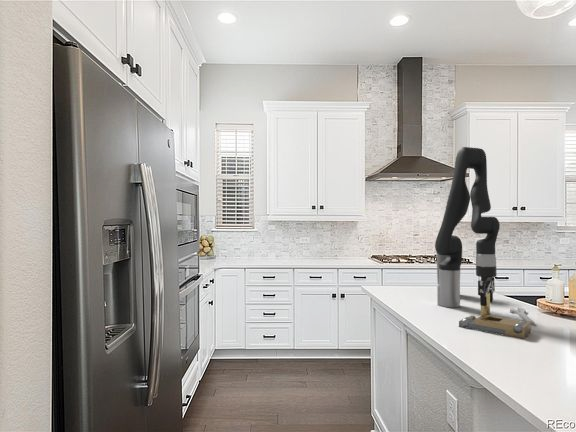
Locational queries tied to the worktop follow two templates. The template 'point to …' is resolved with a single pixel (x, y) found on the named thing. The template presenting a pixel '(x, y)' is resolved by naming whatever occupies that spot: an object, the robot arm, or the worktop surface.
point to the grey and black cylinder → (439, 259)
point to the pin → (486, 309)
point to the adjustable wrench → (522, 315)
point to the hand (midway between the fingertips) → (486, 304)
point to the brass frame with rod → (498, 325)
